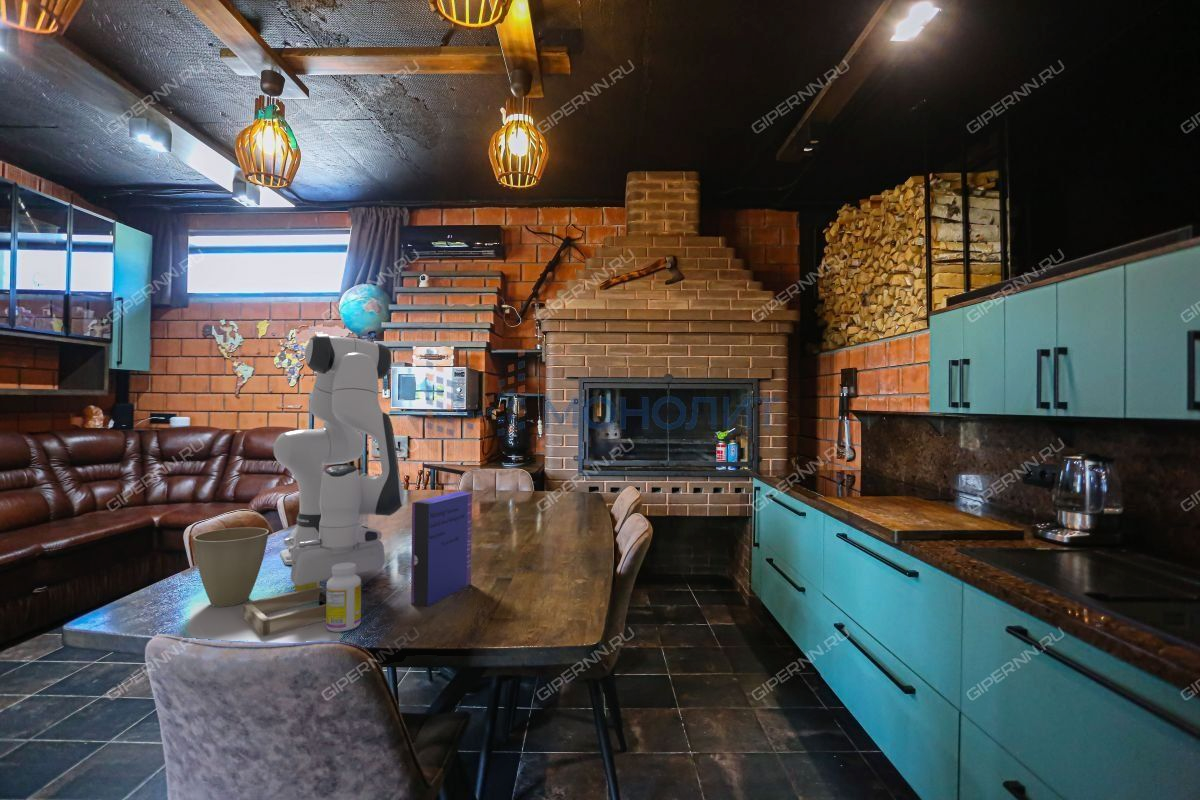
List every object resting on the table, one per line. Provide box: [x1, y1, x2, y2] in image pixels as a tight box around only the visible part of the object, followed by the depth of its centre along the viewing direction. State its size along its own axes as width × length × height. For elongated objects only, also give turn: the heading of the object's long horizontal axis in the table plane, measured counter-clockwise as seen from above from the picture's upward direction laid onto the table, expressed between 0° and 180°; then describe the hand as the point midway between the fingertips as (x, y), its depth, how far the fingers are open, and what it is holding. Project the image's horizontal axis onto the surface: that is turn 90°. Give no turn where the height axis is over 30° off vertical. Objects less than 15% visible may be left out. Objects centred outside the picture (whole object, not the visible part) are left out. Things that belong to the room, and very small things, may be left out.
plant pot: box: [192, 526, 270, 608], centre depth 132 cm, size 15×15×16 cm
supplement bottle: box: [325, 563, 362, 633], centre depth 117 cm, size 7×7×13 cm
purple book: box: [410, 491, 473, 608], centre depth 138 cm, size 17×5×24 cm, turn 159°
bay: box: [242, 585, 326, 637], centre depth 123 cm, size 14×16×3 cm
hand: (339, 595), depth 130 cm, fingers closed
